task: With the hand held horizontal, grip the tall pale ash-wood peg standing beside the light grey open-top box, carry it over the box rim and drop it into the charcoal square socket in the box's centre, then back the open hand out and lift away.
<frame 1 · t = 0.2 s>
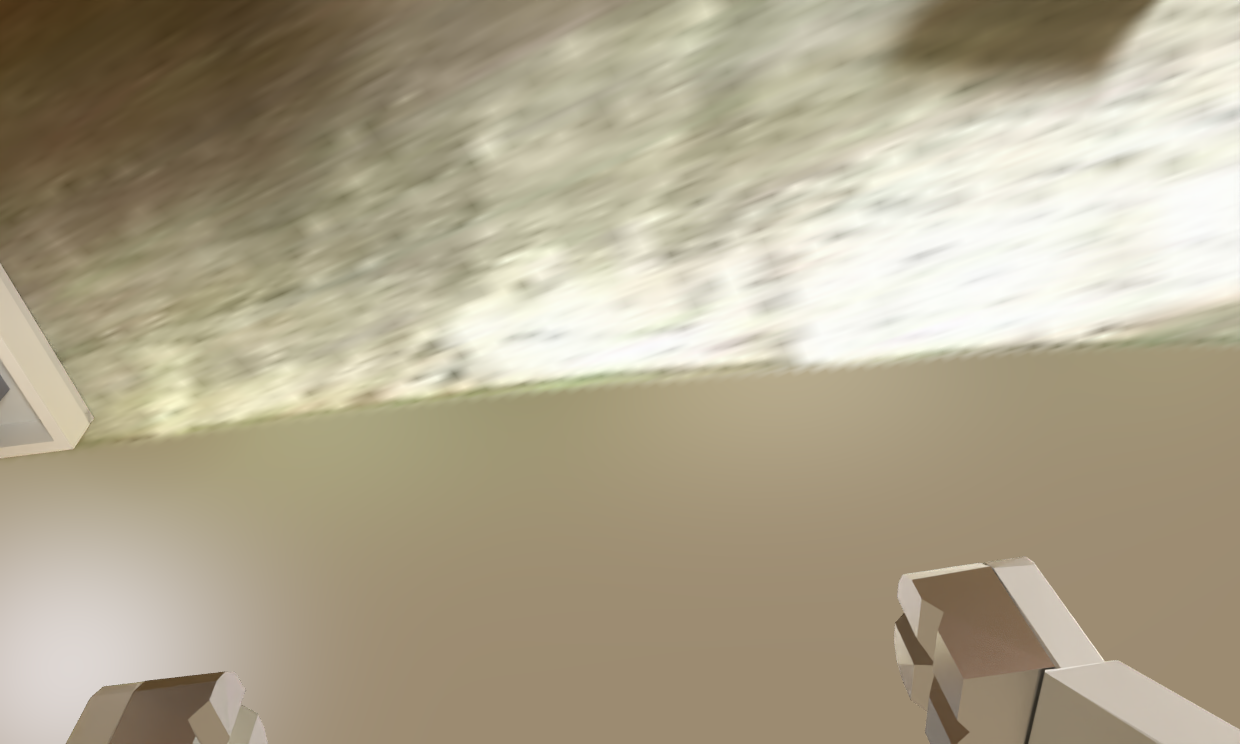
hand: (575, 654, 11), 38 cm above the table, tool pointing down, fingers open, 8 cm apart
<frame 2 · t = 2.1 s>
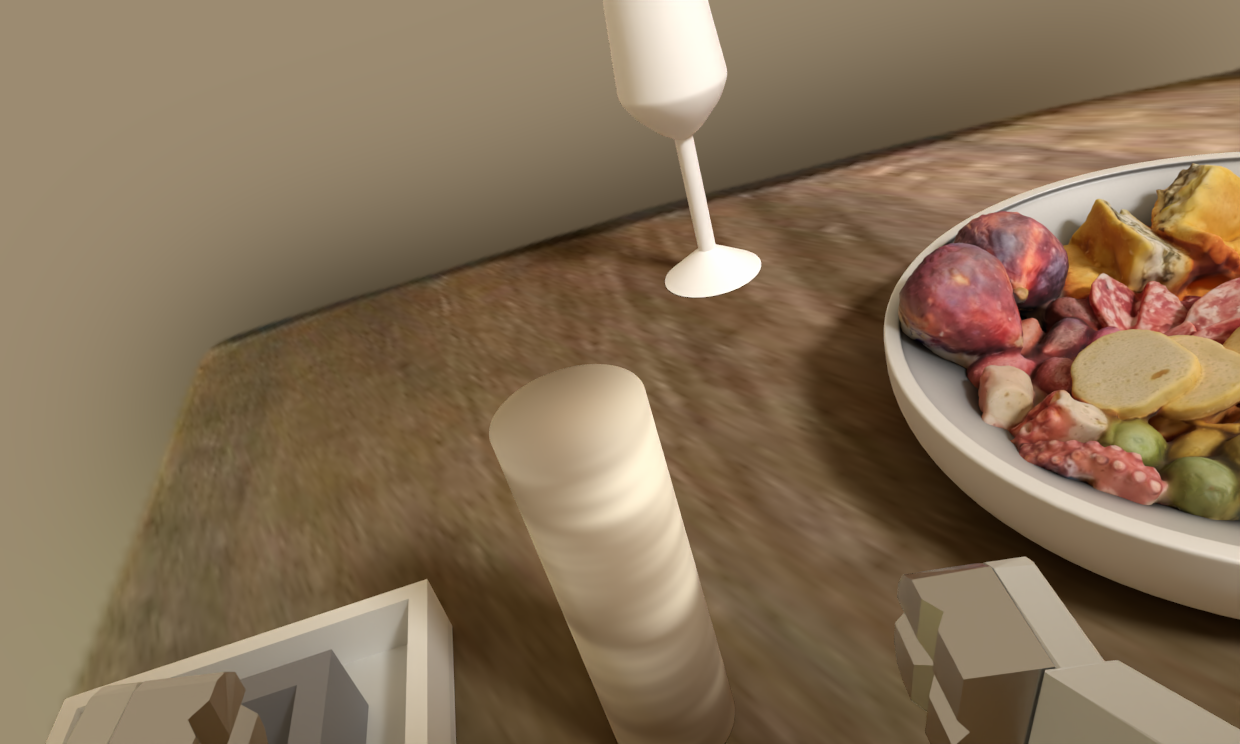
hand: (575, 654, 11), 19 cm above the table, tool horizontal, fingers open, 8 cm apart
champagne flute: (713, 274, 59), on the table
peg: (673, 714, 31), on the table
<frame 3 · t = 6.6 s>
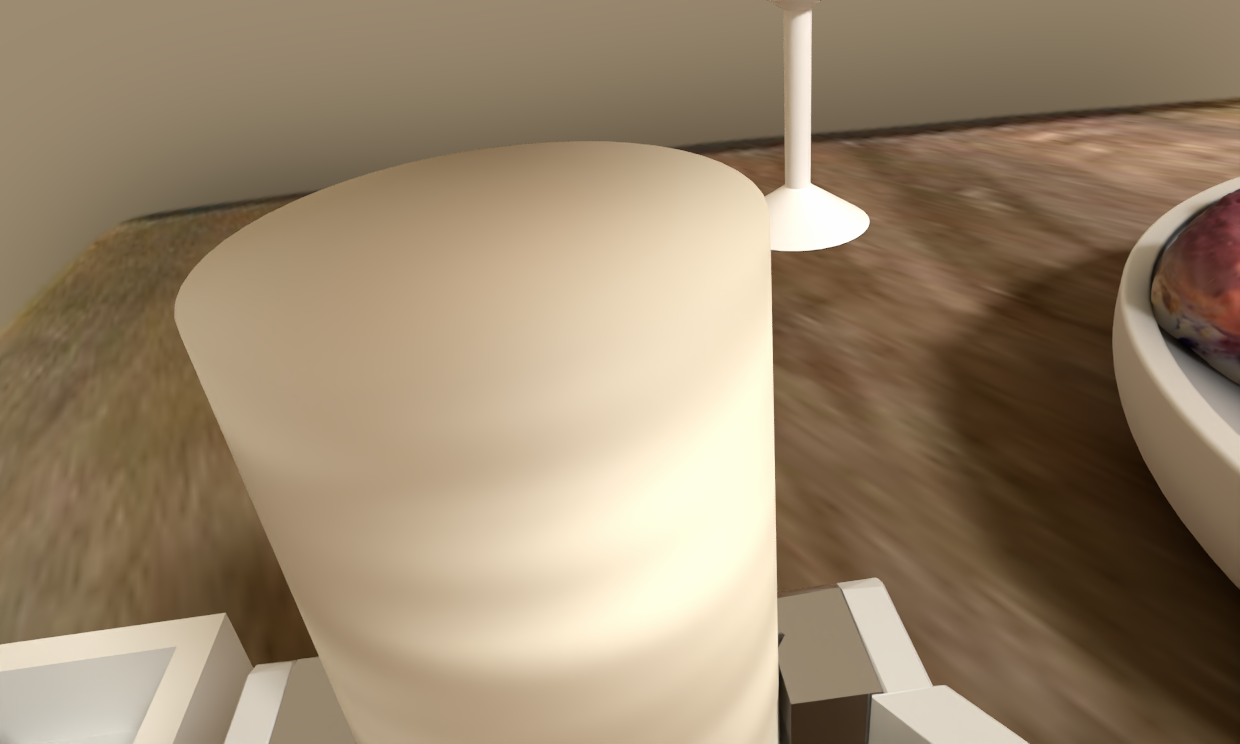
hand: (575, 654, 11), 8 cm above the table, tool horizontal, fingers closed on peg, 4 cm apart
champagne flute: (797, 226, 42), on the table
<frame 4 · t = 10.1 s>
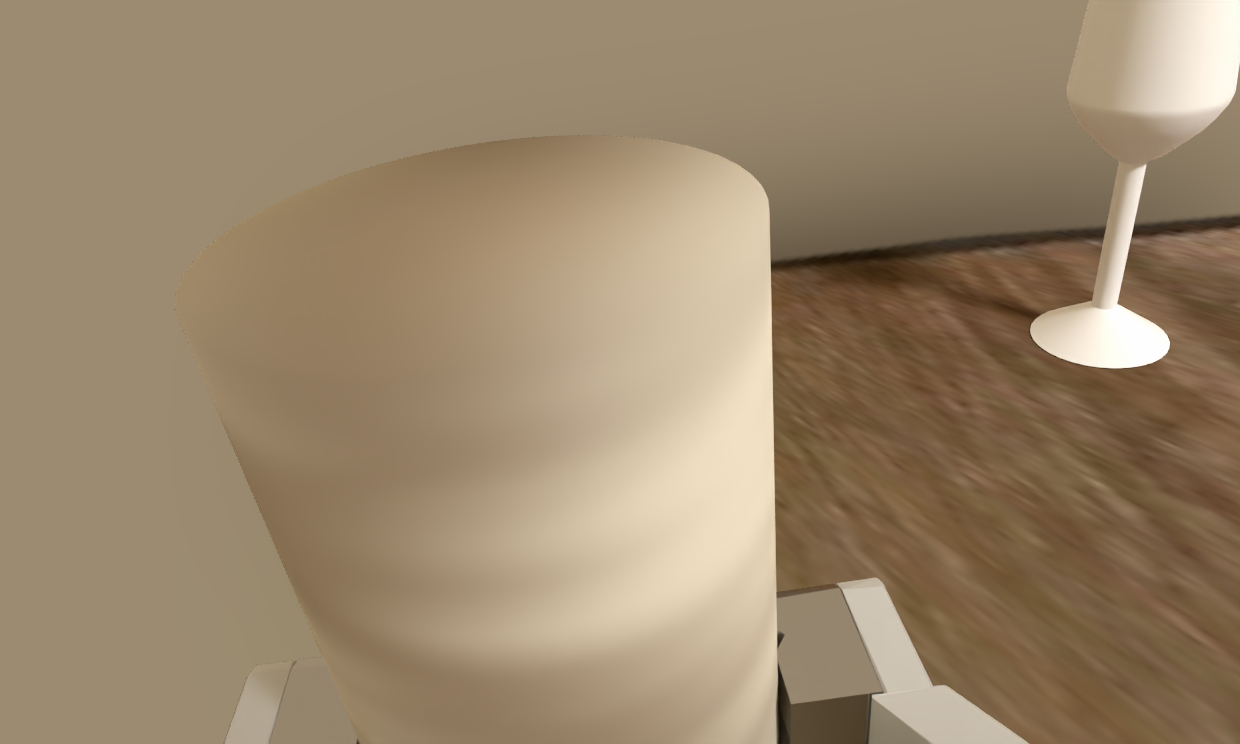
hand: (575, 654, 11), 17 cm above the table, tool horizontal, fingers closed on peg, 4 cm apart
champagne flute: (1097, 338, 46), on the table
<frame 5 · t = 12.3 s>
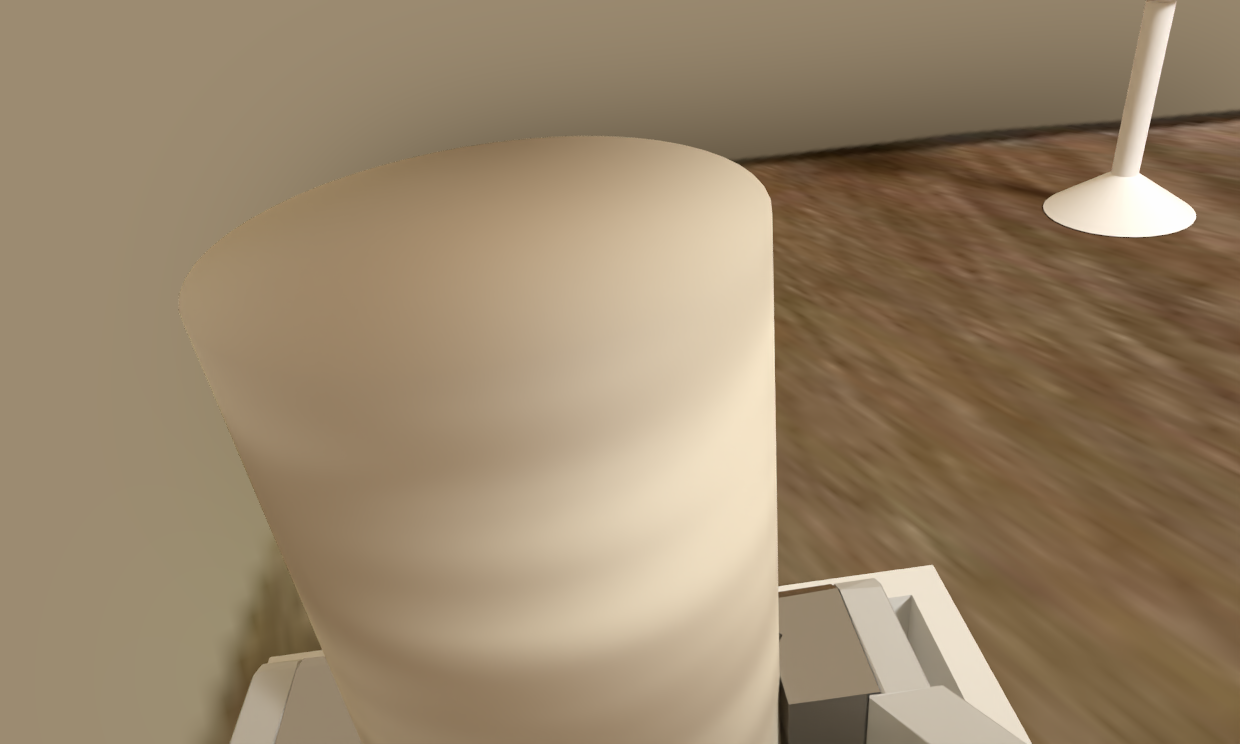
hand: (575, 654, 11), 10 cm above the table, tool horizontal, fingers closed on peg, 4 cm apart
champagne flute: (1116, 213, 43), on the table
when the fingers open (10 cm above the table, at t = 12.5 s): peg drops 1 cm, resting on tray.
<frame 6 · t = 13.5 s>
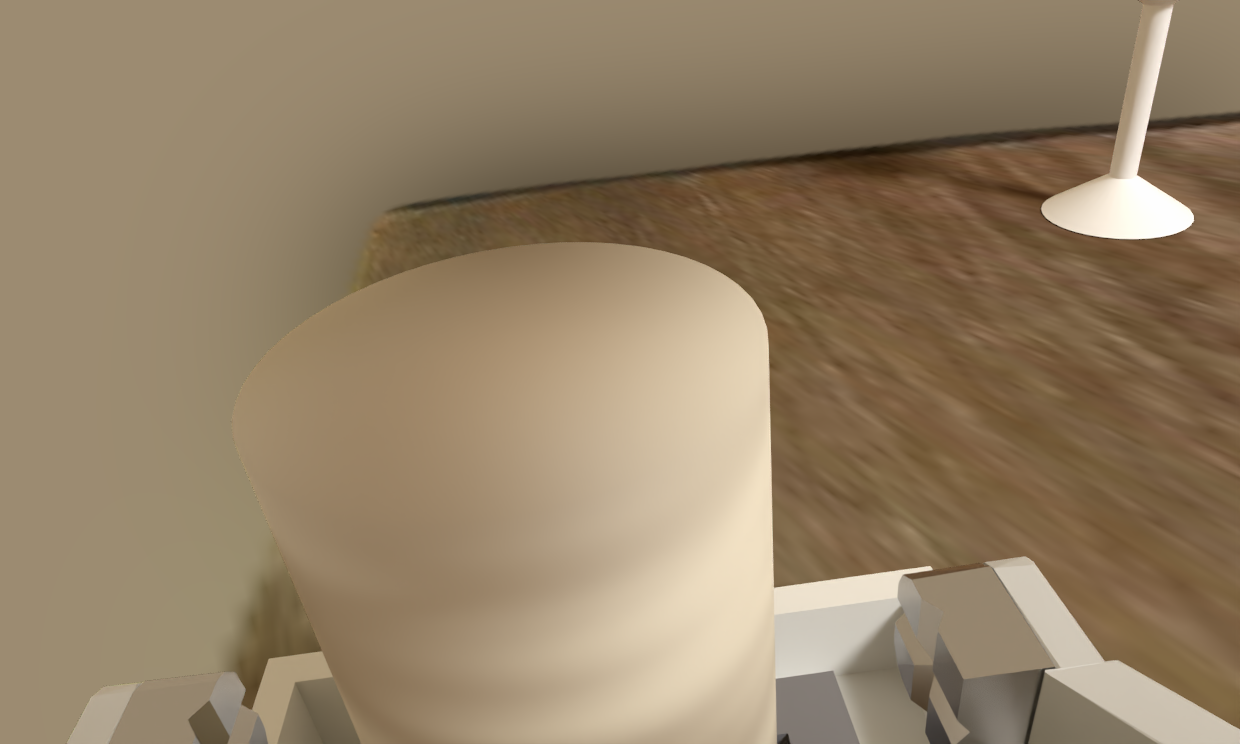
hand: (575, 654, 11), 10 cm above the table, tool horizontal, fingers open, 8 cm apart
champagne flute: (1114, 215, 43), on the table
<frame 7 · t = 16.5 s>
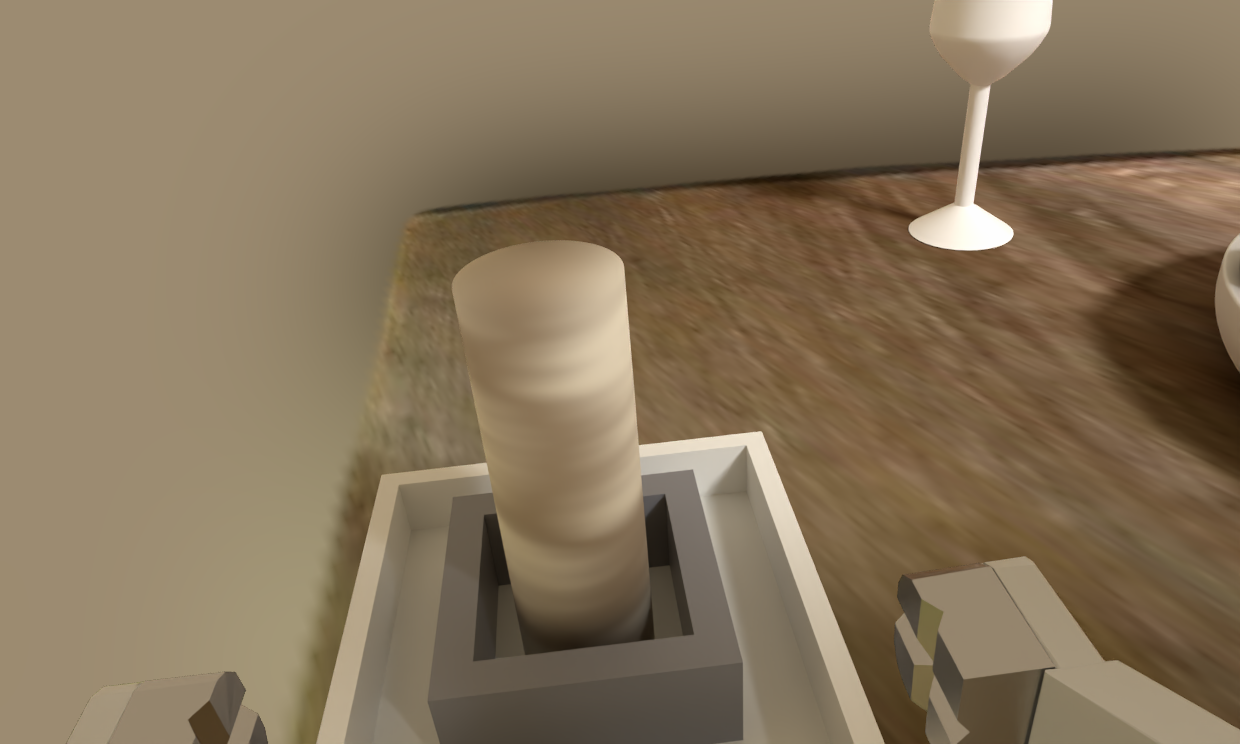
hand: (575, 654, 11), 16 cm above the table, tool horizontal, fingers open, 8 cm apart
champagne flute: (959, 233, 58), on the table
tray: (590, 654, 30), on the table
peg: (590, 642, 30), point 1 cm above the table, touching tray
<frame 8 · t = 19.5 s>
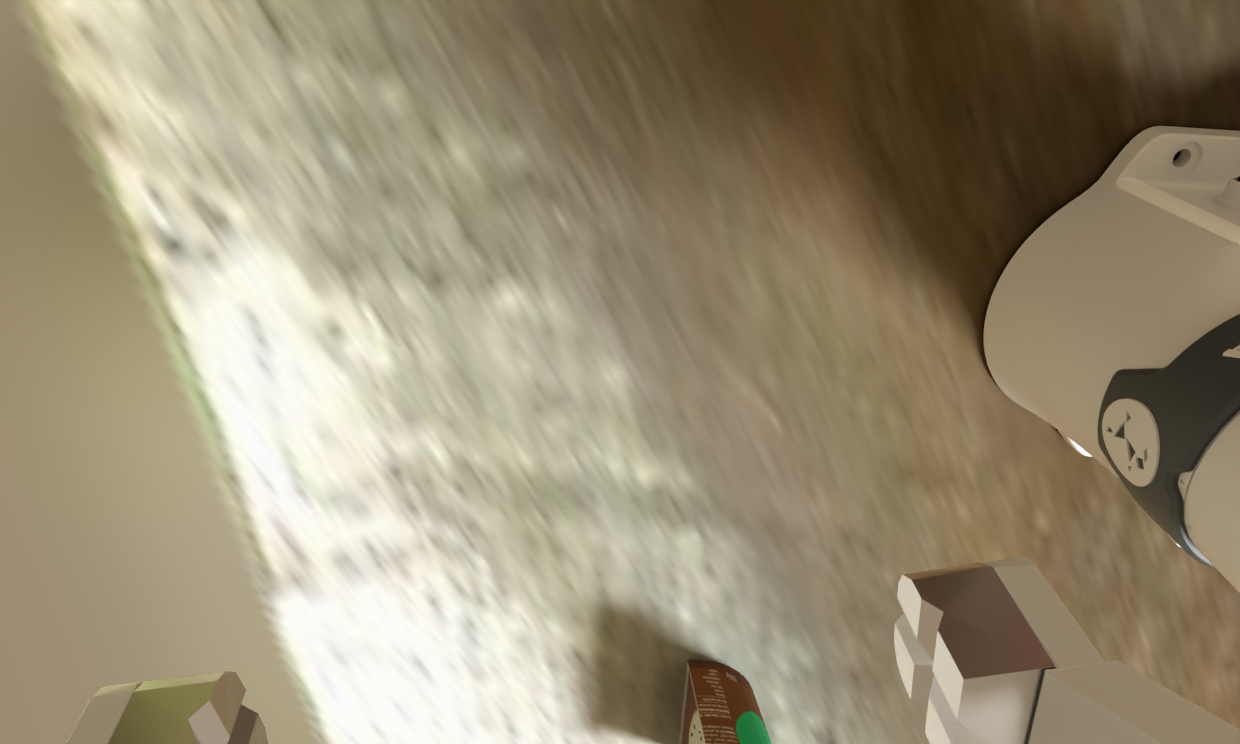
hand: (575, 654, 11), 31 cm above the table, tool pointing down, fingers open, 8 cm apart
food container: (726, 701, 60), on the table
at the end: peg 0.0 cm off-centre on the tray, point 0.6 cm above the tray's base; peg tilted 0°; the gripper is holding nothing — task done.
